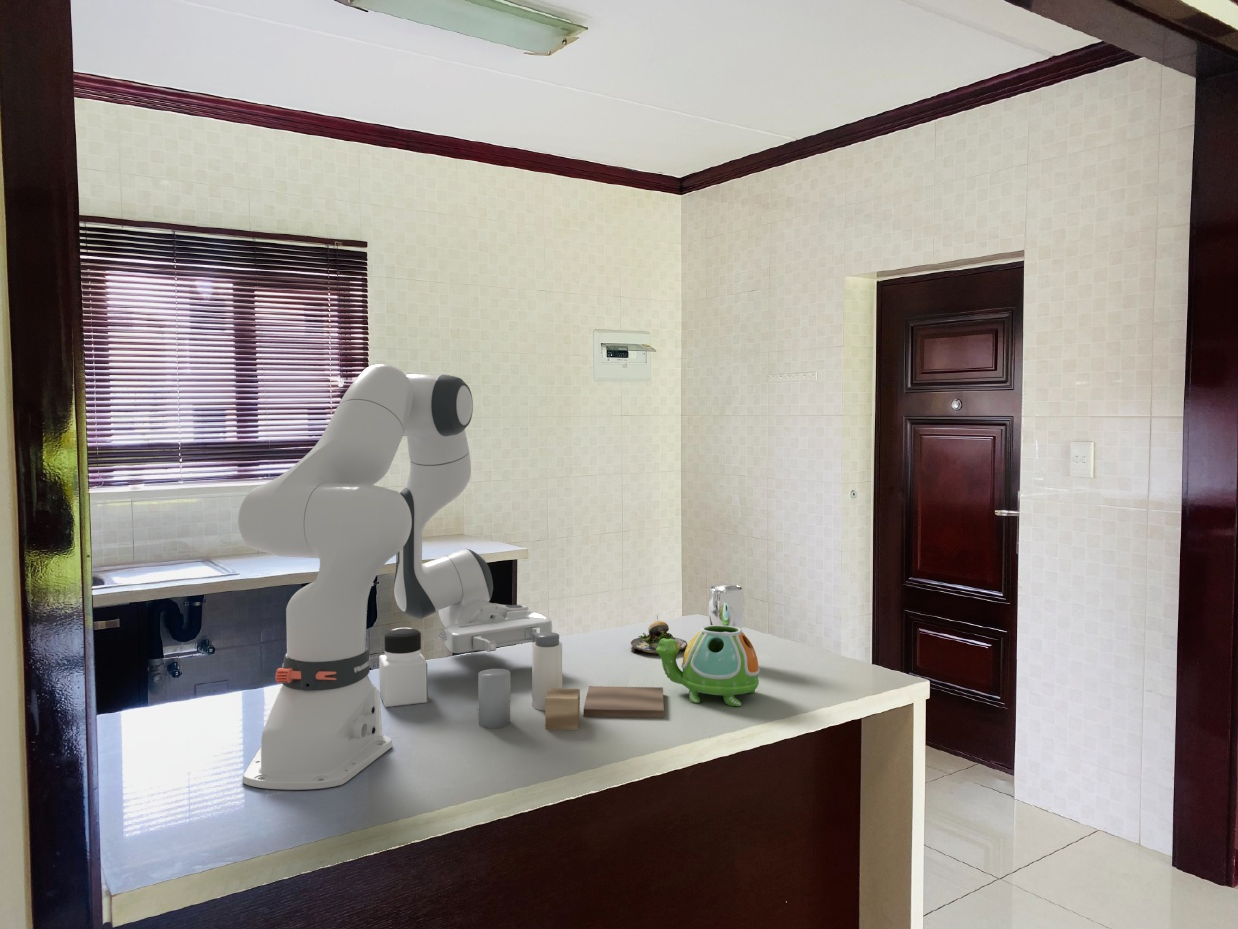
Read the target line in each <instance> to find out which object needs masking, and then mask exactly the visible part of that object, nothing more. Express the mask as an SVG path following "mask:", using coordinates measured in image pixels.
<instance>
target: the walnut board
mask: <svg viewBox="0 0 1238 929" xmlns="http://www.w3.org/2000/svg"><path fill="white" fill-rule="evenodd" d="M587 688H588V689H587V693H586V697H585V701H584V706H583V714H582V715H583V717H593V718H594V717H598V718H599V717H602V718H603V717H604V718H605V717H606V718H649V719H650V718H654V719H655V718H658V719H660V718H661V719H663V718H664V715H665V714H664V712H665V710H664V687H658V686H657V687H653V686H601V685H600V686H598V685H596V686H594V685H593V686H592V685H591V686H588V687H587Z"/></svg>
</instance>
